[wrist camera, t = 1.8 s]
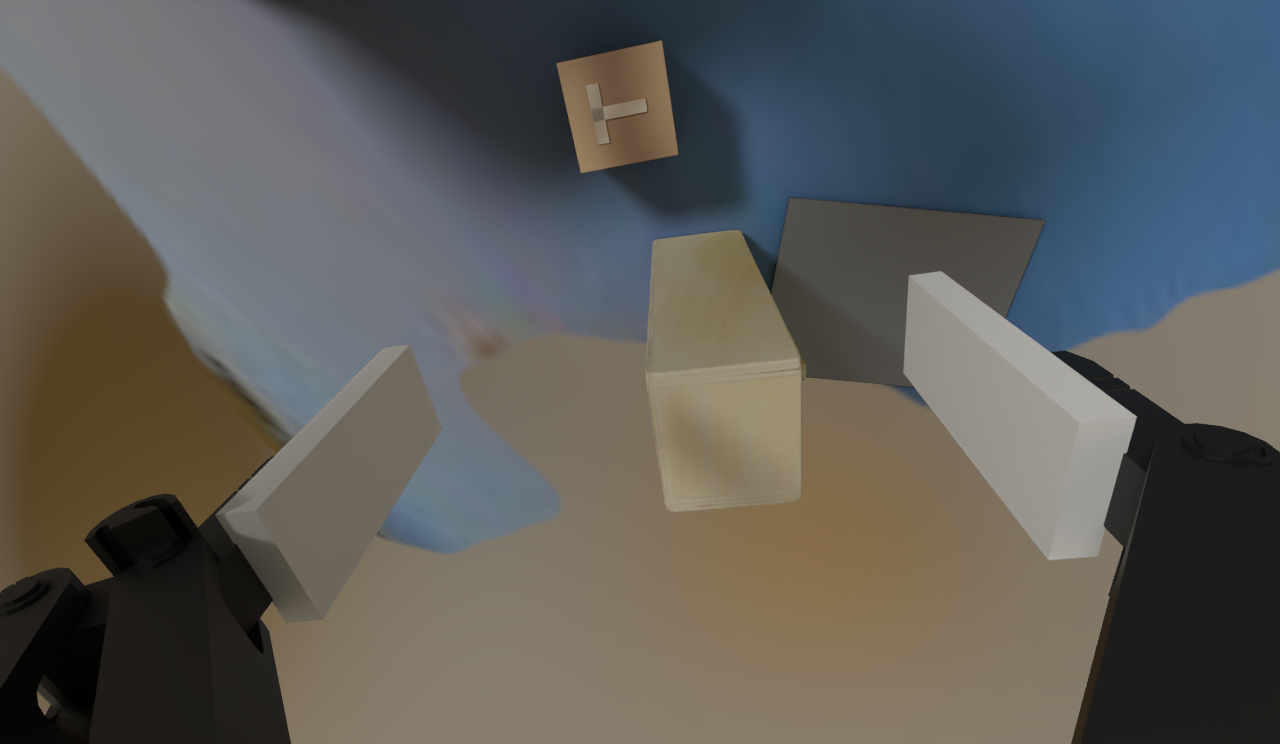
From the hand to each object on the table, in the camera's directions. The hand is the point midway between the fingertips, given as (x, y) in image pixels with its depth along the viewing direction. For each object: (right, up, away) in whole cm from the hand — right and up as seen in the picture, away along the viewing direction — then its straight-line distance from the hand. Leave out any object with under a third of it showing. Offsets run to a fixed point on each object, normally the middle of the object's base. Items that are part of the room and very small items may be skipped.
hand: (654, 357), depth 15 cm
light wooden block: (+5, +6, +29) cm, 30 cm away
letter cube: (-1, +18, +23) cm, 29 cm away
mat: (+19, +5, +29) cm, 35 cm away
